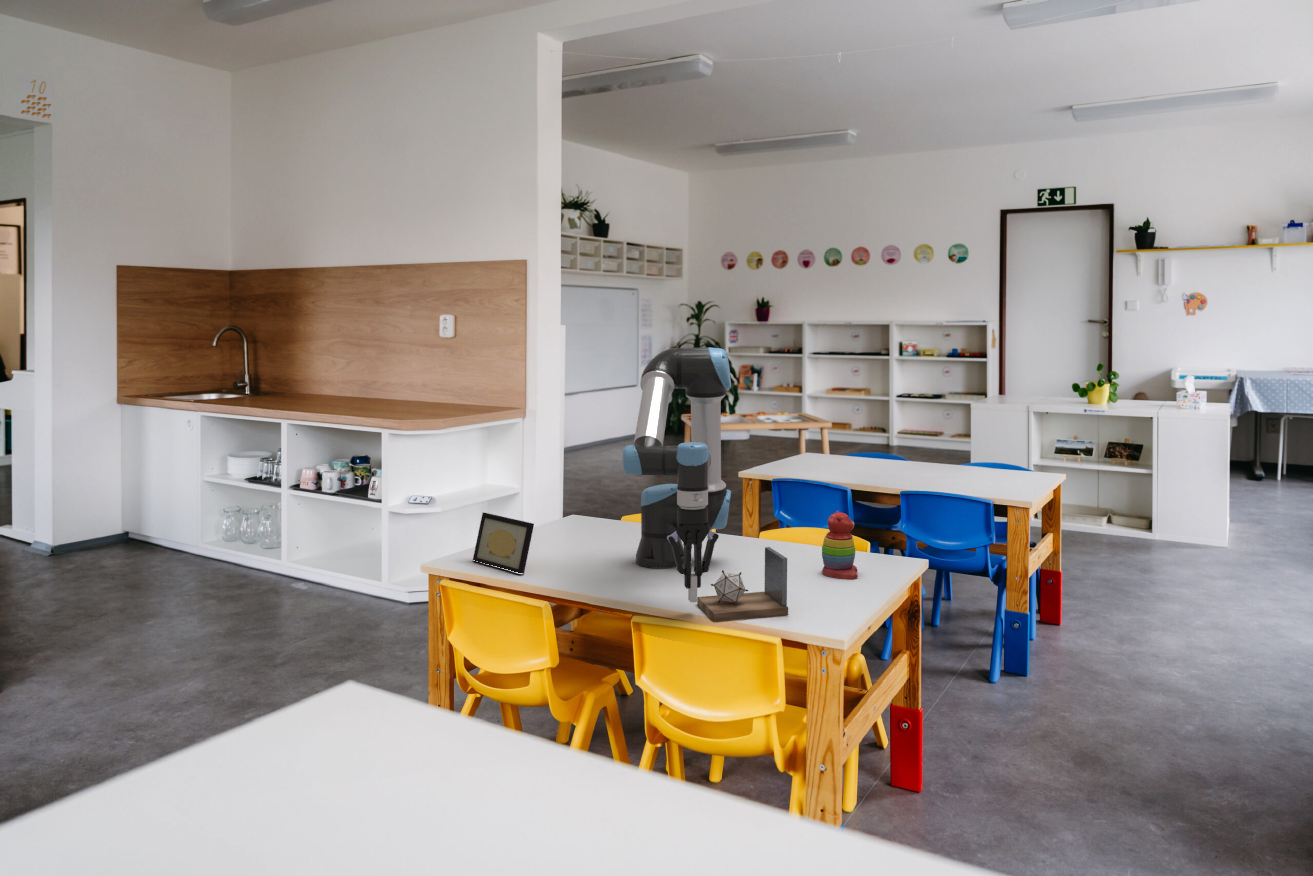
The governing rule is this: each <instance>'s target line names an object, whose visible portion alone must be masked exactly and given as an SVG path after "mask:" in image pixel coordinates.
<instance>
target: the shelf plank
mask: <svg viewBox="0 0 1313 876" xmlns="http://www.w3.org/2000/svg"><path fill="white" fill-rule="evenodd" d="M718 601H719V598H718V595H717V594H716V595H705V596H697V602H696V603H697V606H698V607H699V608H700V609H701V610H702V611H703V612H704V613H705V614H706V615H707V616H708V617H709V618H710V619H711V620H712V621H713V623H717V622H727V621H739V620H748V619H749V620H750V619H759V618H770V617H771V618H772V617H784V616H789V606H788V605H787V606H781V605H780V604H778V603H777V602H776V601H775V600H773V599H772V598H771V597H769V596H768V595H767V594H766V593H765V591H754V592H744V593H743V594H742V596H741V597H740V598H739V600H738V601H737V602H736V603H737V605H736V604H735V603H733V602H725V601H720V602H719V603H718Z"/></svg>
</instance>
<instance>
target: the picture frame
mask: <svg viewBox="0 0 1313 876" xmlns="http://www.w3.org/2000/svg"><path fill="white" fill-rule="evenodd" d="M481 513H482V514H481V518H480V523H479V527H478V533H477V539H476V543H475V546H474V547H475V548H474V552H473V558H472V561H473V560H475V561H478V562H482V563H485V564H489V565H493V566H497V567H500V568H504V569H508V570H511V571H514V572H518V573H524V574H525V570H526V565H527V560H528V555H529V551H530V546H531V540H532V535H533V531H534V525H535V523H533V522H529V521H524V520H519V519H515V518H510V517H506V516H502V515H498V514H493V513H489V512H488V513H487V512H481Z"/></svg>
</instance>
